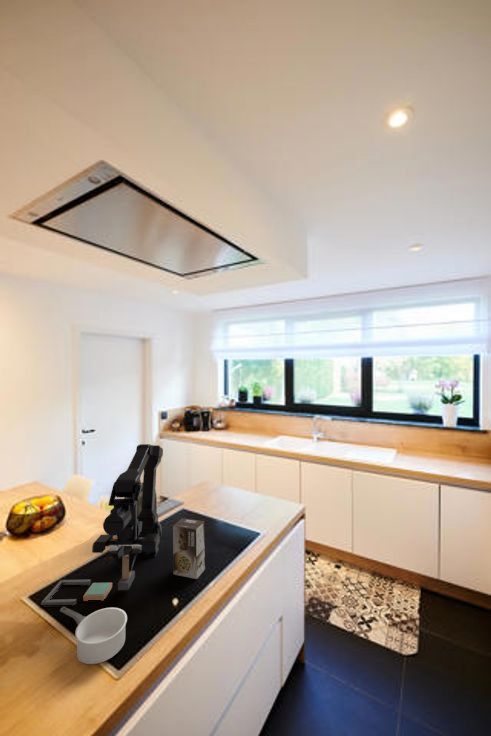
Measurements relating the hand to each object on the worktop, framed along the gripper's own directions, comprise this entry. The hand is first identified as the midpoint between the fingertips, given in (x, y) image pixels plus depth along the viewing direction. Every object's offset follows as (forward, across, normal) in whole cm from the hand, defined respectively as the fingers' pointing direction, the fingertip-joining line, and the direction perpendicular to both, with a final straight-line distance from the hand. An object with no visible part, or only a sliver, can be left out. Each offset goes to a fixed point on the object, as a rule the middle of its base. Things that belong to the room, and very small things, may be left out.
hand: (126, 571), depth 96 cm
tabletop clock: (+7, +6, -40) cm, 41 cm away
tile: (+7, +8, 0) cm, 11 cm away
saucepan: (+7, +3, +18) cm, 19 cm away
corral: (+6, +18, 0) cm, 19 cm away
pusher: (+4, 0, 0) cm, 4 cm away
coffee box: (+7, -18, -10) cm, 21 cm away
